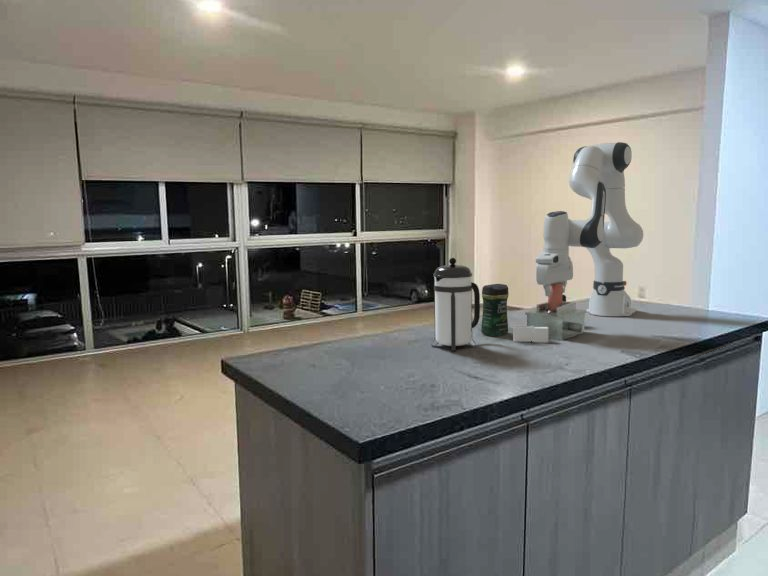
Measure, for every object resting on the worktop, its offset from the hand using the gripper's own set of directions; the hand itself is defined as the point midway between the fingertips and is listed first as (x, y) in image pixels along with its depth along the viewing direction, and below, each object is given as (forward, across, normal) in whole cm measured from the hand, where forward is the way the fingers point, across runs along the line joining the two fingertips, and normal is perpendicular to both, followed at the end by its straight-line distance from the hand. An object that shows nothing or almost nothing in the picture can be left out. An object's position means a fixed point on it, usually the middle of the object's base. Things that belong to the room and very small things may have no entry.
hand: (555, 294), depth 198 cm
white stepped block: (+15, +18, +1) cm, 23 cm away
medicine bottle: (+14, -13, -6) cm, 20 cm away
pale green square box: (+14, +1, +3) cm, 14 cm away
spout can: (+6, 0, 0) cm, 6 cm away
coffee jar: (+14, +16, -15) cm, 26 cm away
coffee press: (+14, +39, -15) cm, 44 cm away
